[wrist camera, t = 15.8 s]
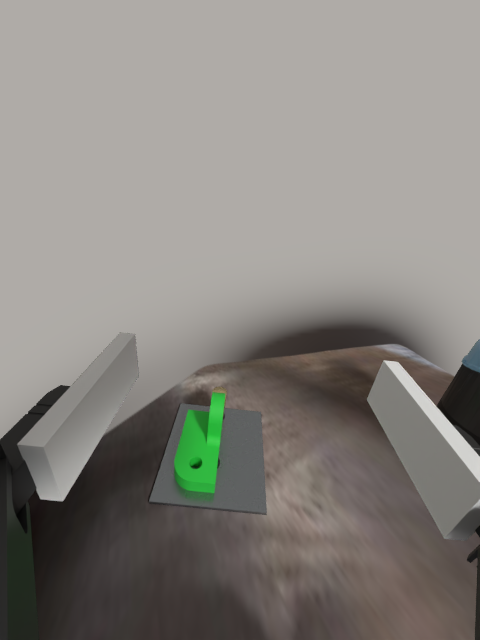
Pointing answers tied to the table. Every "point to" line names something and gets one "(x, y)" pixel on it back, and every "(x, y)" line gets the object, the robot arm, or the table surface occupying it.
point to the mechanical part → (200, 447)
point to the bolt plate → (220, 465)
